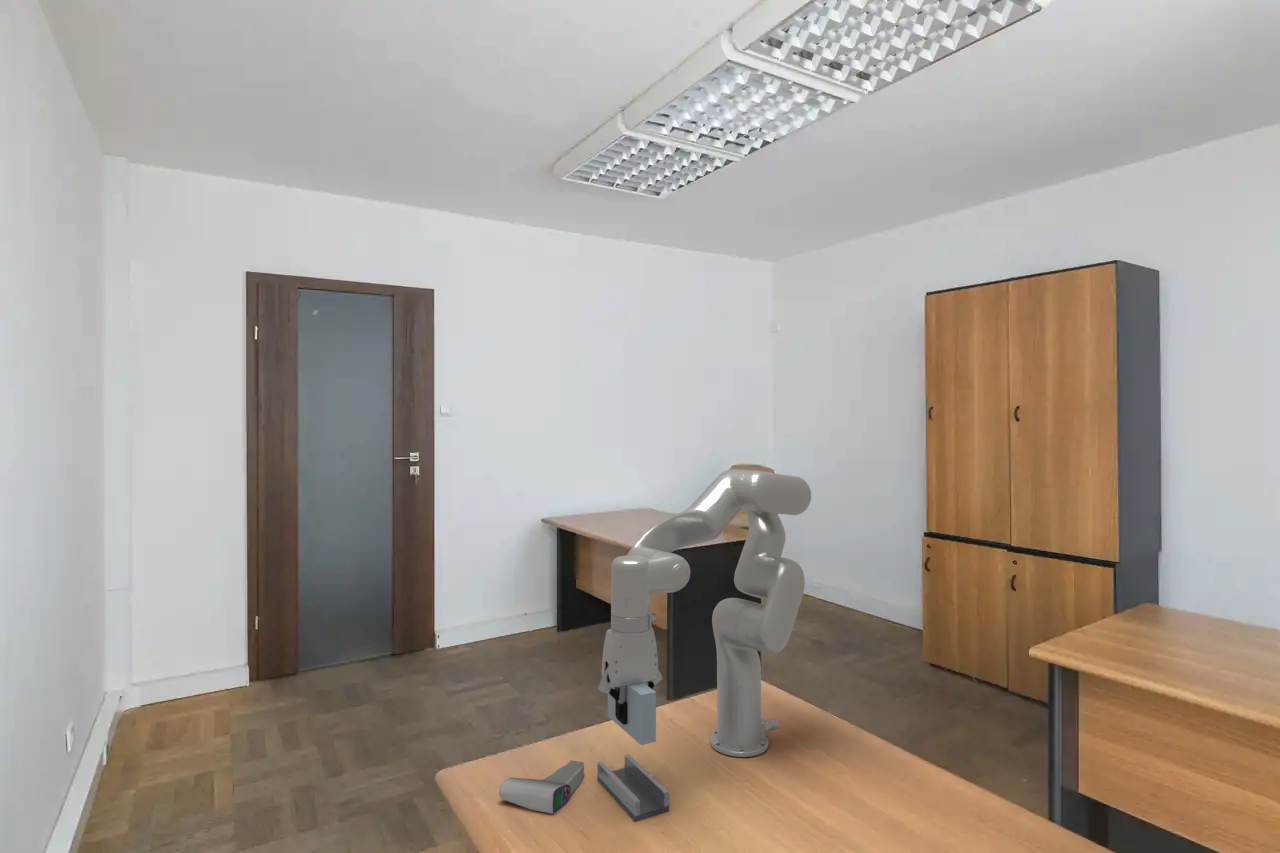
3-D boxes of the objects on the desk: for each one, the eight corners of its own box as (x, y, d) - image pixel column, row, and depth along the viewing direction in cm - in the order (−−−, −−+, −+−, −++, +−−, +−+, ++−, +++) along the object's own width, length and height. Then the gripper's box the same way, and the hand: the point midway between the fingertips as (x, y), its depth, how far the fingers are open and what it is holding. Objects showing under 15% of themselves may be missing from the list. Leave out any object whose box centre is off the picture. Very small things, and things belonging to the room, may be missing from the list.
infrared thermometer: (588, 782, 137) (556, 818, 122) (533, 772, 140) (496, 806, 126) (589, 758, 137) (557, 792, 123) (534, 749, 141) (497, 781, 126)
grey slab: (607, 716, 135) (607, 670, 135) (621, 713, 136) (621, 667, 136) (641, 745, 122) (641, 694, 122) (655, 741, 124) (655, 691, 124)
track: (597, 780, 135) (597, 762, 135) (629, 771, 138) (628, 754, 138) (635, 821, 121) (634, 802, 121) (669, 811, 124) (669, 791, 124)
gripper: (658, 612, 136) (658, 704, 136) (583, 623, 129) (582, 721, 129) (678, 621, 130) (678, 718, 130) (599, 634, 122) (599, 737, 122)
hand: (630, 719), depth 129 cm, fingers closed on grey slab, 3 cm apart
